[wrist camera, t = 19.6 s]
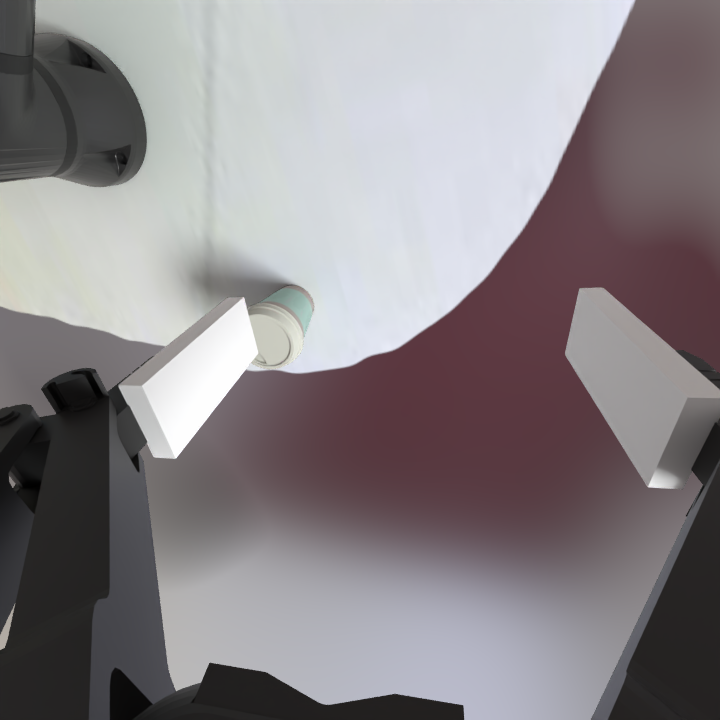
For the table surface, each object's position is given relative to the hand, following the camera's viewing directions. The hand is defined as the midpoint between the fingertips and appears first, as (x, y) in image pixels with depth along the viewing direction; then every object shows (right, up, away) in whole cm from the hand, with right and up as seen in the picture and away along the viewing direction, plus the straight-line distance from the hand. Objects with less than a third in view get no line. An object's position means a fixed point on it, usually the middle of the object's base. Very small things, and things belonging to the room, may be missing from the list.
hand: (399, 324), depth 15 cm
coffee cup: (-11, +7, +39) cm, 41 cm away
